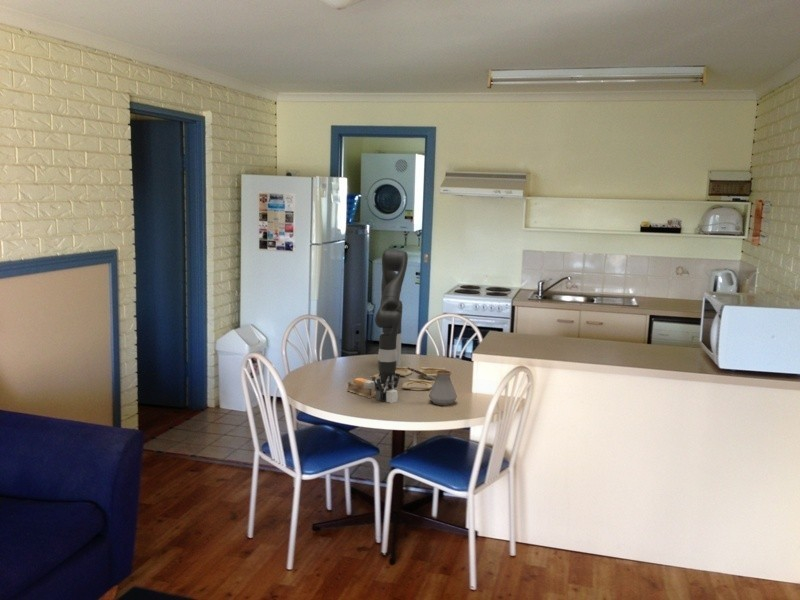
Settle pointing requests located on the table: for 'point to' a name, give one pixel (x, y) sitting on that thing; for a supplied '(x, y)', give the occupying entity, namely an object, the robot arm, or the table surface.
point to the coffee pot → (440, 387)
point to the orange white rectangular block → (365, 383)
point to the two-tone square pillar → (389, 395)
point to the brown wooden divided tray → (363, 389)
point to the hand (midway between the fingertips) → (386, 399)
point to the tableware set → (424, 370)
